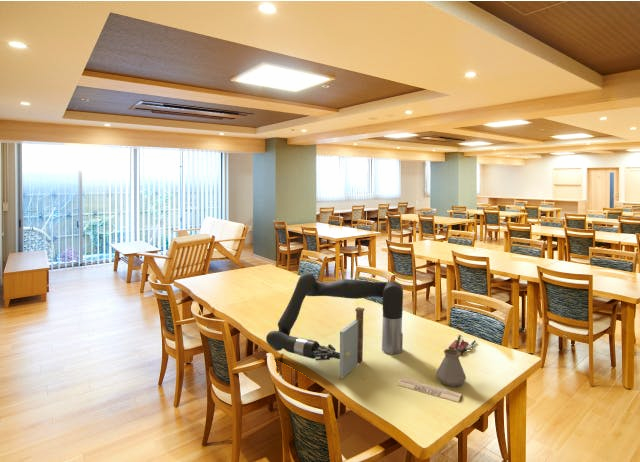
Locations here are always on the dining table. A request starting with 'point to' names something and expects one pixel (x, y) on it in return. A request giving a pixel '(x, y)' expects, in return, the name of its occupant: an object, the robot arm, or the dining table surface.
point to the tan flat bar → (430, 389)
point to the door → (348, 348)
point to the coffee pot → (451, 367)
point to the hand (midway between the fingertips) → (341, 356)
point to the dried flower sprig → (462, 346)
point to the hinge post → (360, 332)
